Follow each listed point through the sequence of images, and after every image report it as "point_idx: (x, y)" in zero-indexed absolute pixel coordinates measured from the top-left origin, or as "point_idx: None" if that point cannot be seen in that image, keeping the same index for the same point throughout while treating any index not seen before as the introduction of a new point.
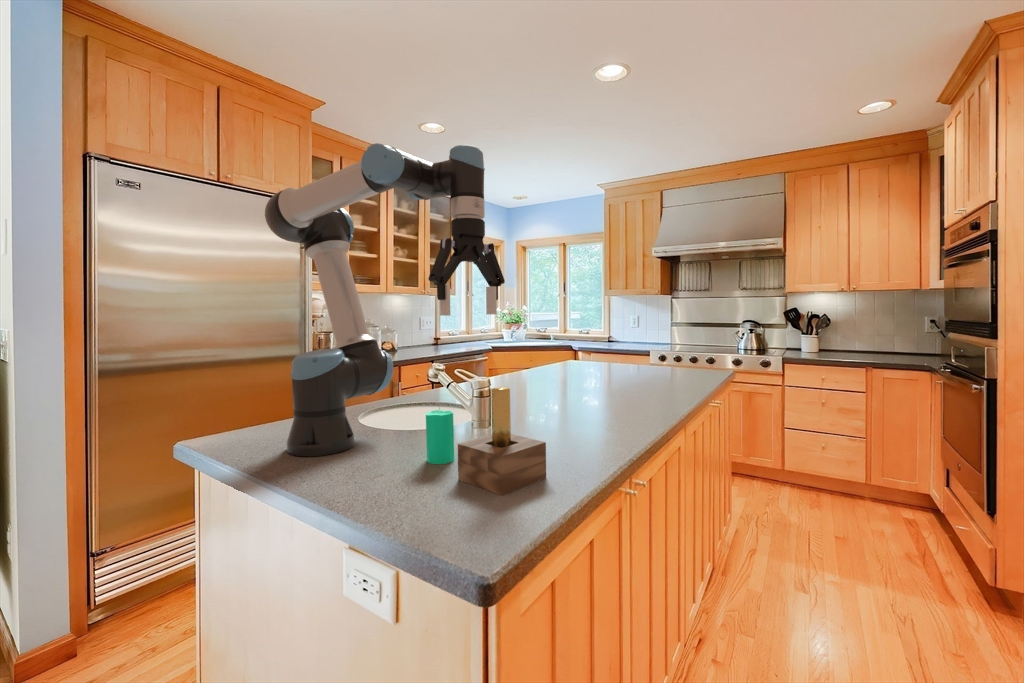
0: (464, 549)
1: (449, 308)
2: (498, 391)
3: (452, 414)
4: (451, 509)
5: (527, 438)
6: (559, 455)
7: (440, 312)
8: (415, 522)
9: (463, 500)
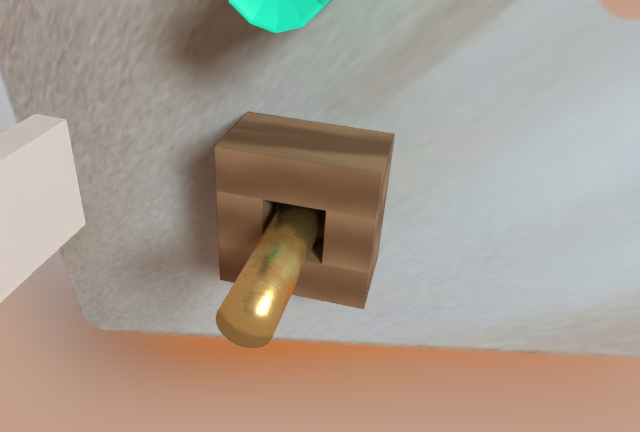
0: (98, 281)
1: (37, 256)
2: (222, 329)
3: (300, 27)
4: (150, 197)
5: (364, 263)
6: (551, 216)
7: (16, 134)
8: (83, 182)
9: (186, 190)
